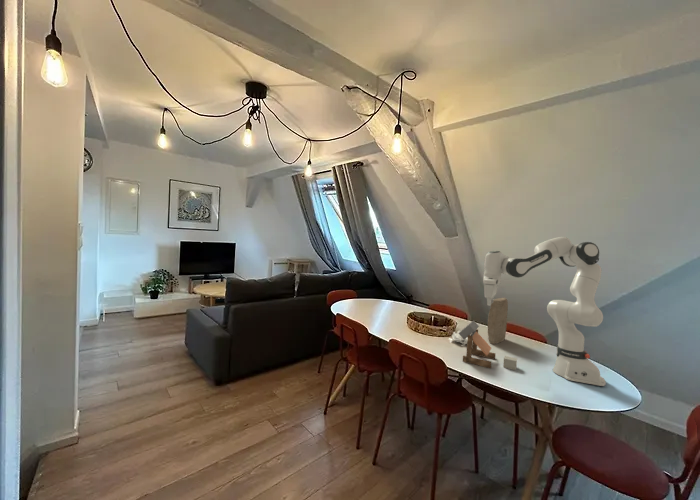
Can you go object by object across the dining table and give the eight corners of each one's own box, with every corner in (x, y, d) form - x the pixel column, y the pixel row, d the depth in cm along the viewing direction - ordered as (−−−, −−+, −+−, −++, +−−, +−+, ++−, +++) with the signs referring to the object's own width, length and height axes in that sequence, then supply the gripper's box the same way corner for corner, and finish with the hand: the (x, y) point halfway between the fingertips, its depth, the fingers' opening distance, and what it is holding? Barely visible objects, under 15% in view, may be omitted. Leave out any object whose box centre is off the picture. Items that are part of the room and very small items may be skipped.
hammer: (458, 333, 176) (468, 324, 173) (463, 328, 188) (473, 320, 185) (481, 359, 170) (492, 351, 167) (485, 352, 182) (496, 344, 179)
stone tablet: (494, 346, 203) (497, 301, 202) (482, 342, 209) (485, 298, 208) (507, 340, 216) (510, 298, 215) (495, 337, 222) (498, 296, 221)
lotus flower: (447, 345, 201) (448, 331, 200) (448, 338, 215) (449, 326, 214) (470, 348, 196) (471, 335, 195) (470, 342, 210) (471, 329, 209)
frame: (462, 361, 173) (464, 334, 173) (469, 352, 189) (470, 328, 188) (490, 368, 166) (492, 340, 165) (495, 358, 181) (497, 333, 180)
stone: (517, 358, 169) (504, 355, 172) (516, 361, 165) (503, 358, 168) (516, 367, 169) (504, 364, 172) (515, 370, 165) (503, 367, 168)
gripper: (488, 277, 184) (487, 300, 184) (482, 280, 167) (481, 306, 167) (500, 278, 181) (498, 302, 181) (495, 282, 163) (493, 307, 164)
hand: (490, 304), depth 174 cm, fingers open, 8 cm apart
